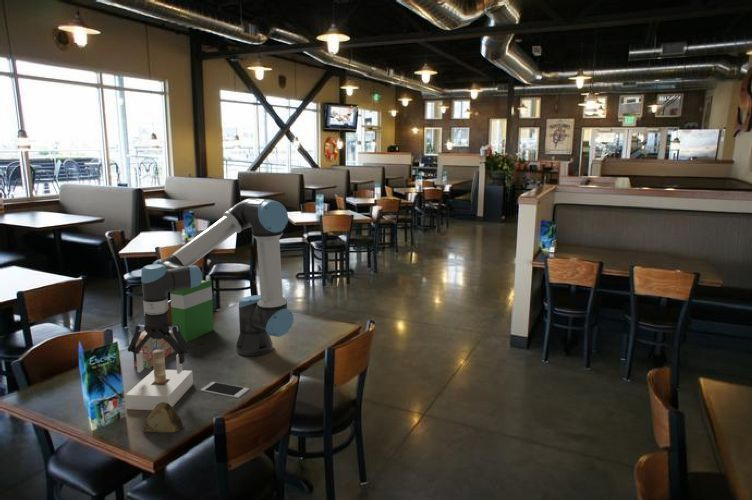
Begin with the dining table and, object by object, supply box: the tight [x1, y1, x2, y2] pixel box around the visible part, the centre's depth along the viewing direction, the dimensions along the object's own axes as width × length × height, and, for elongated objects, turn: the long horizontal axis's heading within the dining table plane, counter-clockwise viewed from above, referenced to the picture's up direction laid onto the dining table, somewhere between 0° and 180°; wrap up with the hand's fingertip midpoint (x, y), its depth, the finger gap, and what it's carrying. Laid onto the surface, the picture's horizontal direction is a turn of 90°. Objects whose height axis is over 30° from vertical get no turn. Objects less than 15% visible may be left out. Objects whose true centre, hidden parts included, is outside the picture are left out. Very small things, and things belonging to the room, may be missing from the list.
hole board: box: [125, 369, 194, 411], centre depth 179 cm, size 14×20×5 cm
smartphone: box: [200, 381, 250, 399], centre depth 185 cm, size 7×15×1 cm, turn 71°
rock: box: [142, 402, 185, 433], centre depth 158 cm, size 11×9×10 cm
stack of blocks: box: [131, 330, 177, 369], centre depth 211 cm, size 21×6×12 cm, turn 169°
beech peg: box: [153, 350, 166, 385], centre depth 178 cm, size 4×4×16 cm
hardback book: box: [169, 279, 214, 343], centre depth 236 cm, size 18×7×24 cm, turn 156°
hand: (160, 371), depth 178 cm, fingers open, 13 cm apart
